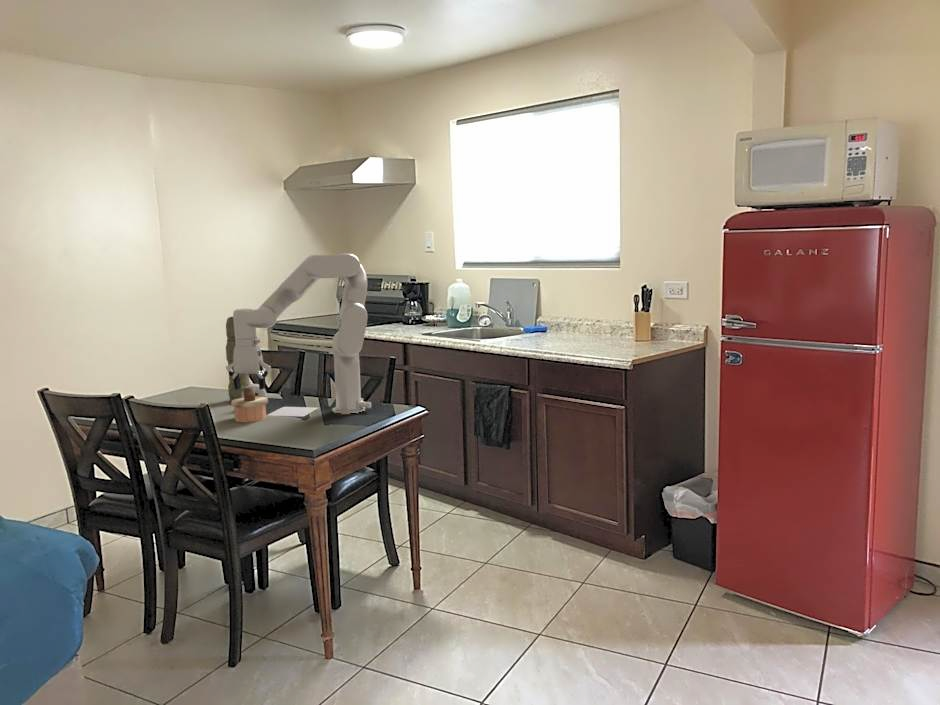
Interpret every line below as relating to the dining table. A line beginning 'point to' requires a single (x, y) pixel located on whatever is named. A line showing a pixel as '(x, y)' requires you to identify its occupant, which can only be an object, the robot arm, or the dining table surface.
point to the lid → (249, 399)
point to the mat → (293, 411)
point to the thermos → (229, 355)
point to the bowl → (250, 413)
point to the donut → (257, 391)
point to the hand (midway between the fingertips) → (250, 388)
